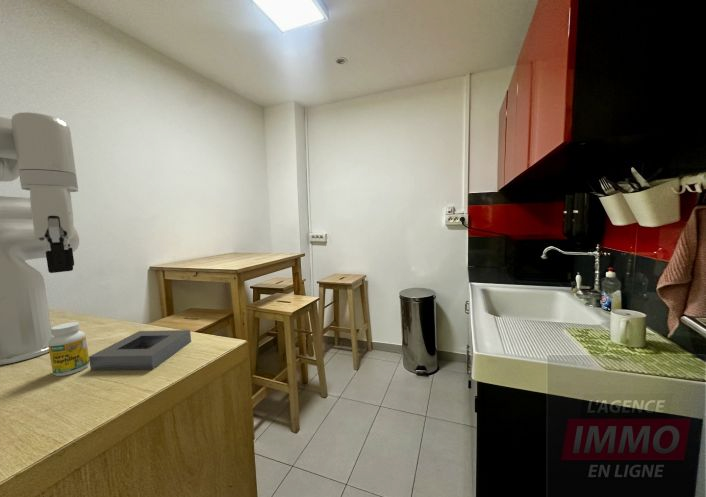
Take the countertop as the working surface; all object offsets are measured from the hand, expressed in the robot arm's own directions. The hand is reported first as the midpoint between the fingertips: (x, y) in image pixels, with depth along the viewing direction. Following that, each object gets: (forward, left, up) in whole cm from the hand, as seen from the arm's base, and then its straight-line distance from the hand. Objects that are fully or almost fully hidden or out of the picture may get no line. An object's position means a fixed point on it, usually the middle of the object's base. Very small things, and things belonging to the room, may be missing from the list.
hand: (62, 269), depth 55 cm
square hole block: (+10, +6, -21) cm, 24 cm away
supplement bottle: (-1, 0, -21) cm, 21 cm away
